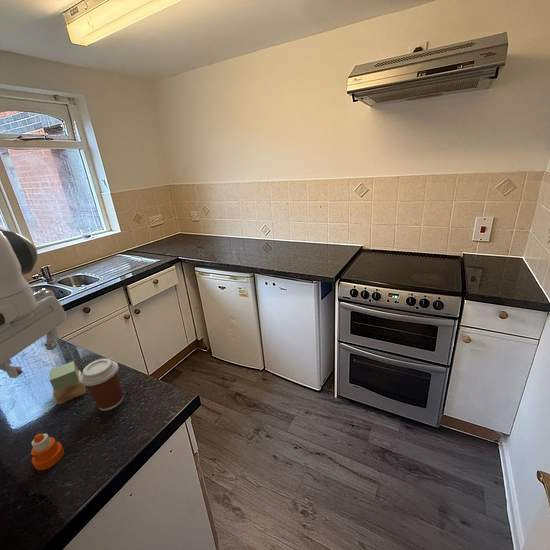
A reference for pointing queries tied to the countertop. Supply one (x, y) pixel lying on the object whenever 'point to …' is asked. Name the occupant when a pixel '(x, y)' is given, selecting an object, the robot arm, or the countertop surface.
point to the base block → (70, 391)
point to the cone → (45, 451)
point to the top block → (64, 376)
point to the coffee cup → (103, 383)
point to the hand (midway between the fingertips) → (35, 361)
